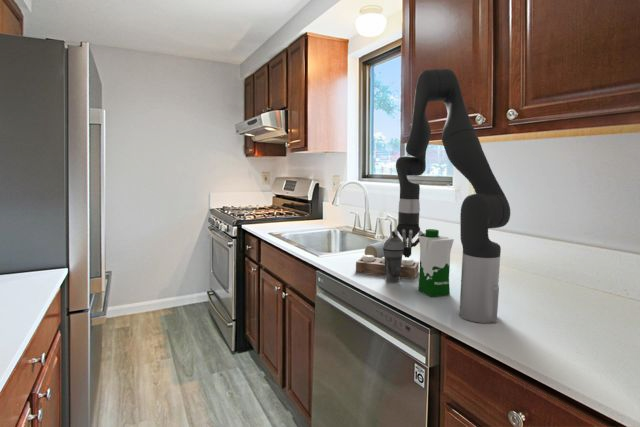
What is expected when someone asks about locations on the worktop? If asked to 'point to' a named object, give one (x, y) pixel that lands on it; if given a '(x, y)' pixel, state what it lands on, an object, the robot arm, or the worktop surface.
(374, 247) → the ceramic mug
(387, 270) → the beverage cup
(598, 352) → the worktop surface
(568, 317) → the worktop surface
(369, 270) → the board
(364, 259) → the button
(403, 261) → the button
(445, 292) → the milk carton
